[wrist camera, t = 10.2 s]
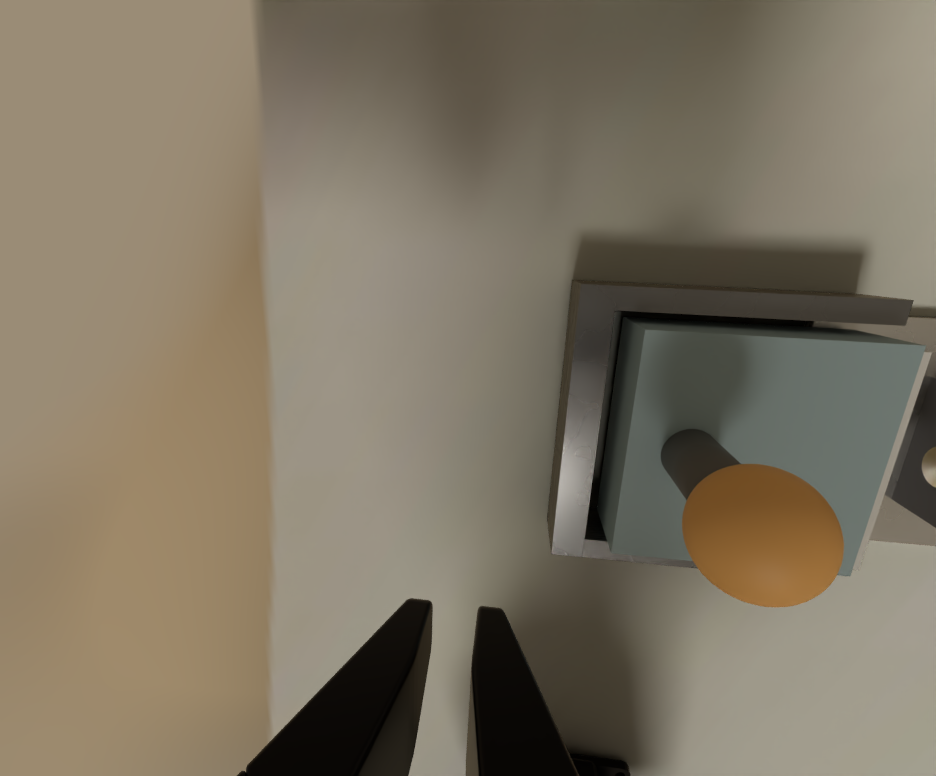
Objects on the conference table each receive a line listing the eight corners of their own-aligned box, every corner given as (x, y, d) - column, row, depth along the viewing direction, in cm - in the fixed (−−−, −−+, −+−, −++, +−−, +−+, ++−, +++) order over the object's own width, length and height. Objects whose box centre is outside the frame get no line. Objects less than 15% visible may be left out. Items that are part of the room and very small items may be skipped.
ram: (806, 527, 19) (1058, 763, 10) (596, 508, 19) (662, 714, 11) (863, 330, 16) (1252, 414, 8) (623, 316, 17) (734, 381, 8)
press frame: (1085, 568, 19) (1209, 637, 15) (547, 519, 20) (553, 570, 17) (1214, 310, 16) (1402, 326, 12) (572, 279, 18) (585, 285, 14)
